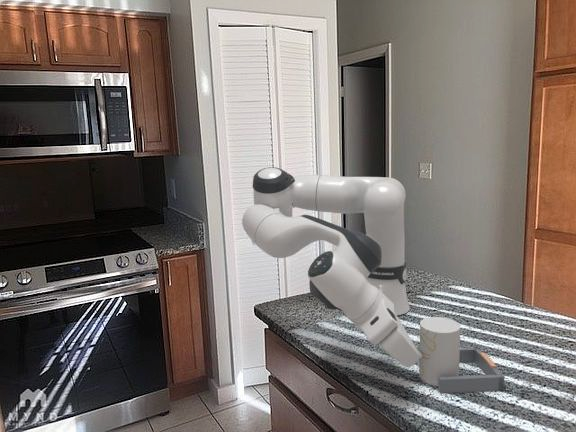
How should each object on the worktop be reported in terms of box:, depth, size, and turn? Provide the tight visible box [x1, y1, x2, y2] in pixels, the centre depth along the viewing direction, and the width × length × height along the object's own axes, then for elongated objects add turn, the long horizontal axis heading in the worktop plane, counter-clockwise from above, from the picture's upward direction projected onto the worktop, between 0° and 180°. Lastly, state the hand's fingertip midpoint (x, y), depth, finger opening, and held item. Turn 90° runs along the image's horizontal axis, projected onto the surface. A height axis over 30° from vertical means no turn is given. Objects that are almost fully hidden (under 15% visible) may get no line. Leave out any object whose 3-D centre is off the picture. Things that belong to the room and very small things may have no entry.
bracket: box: [438, 347, 506, 394], centre depth 99 cm, size 13×13×4 cm
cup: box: [418, 316, 461, 387], centre depth 98 cm, size 8×8×12 cm
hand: (418, 355), depth 97 cm, fingers closed
